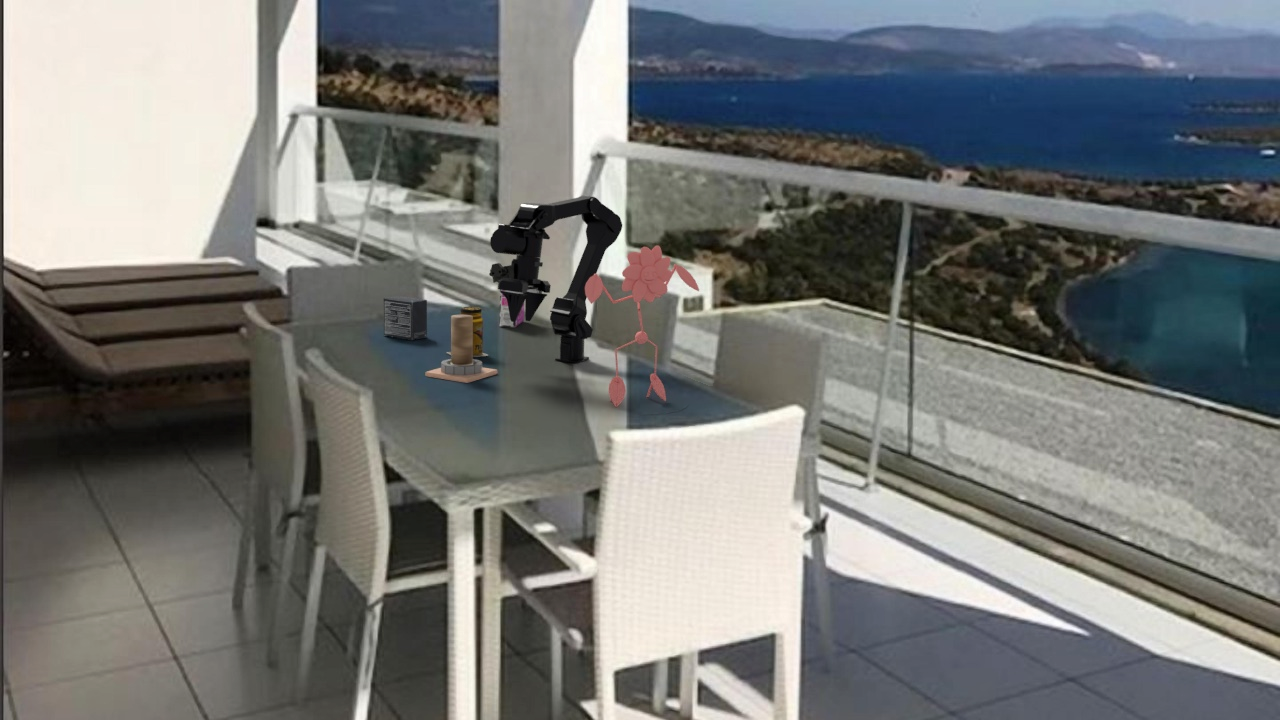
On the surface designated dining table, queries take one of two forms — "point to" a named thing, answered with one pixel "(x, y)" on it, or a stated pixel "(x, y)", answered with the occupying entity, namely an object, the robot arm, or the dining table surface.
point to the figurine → (644, 283)
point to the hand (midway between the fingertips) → (520, 321)
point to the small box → (405, 317)
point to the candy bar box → (505, 314)
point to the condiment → (475, 329)
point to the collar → (461, 372)
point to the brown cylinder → (461, 340)
